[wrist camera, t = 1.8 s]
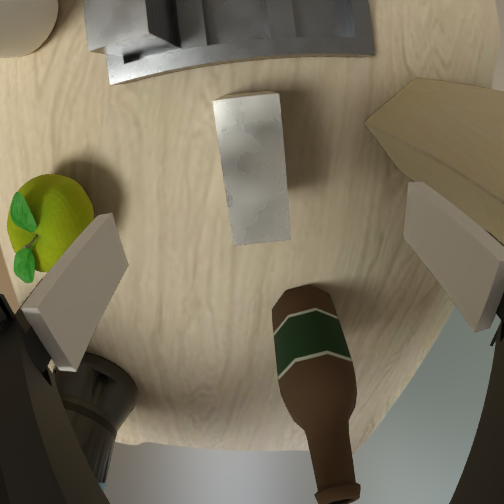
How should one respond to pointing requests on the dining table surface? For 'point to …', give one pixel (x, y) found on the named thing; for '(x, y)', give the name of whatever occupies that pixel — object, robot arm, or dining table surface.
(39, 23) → the potion bottle
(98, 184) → the dining table surface
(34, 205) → the fruit
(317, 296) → the beer bottle
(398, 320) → the dining table surface
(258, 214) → the silver rectangular block
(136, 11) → the rack
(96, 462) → the robot arm
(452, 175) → the cream tall block
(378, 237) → the dining table surface
